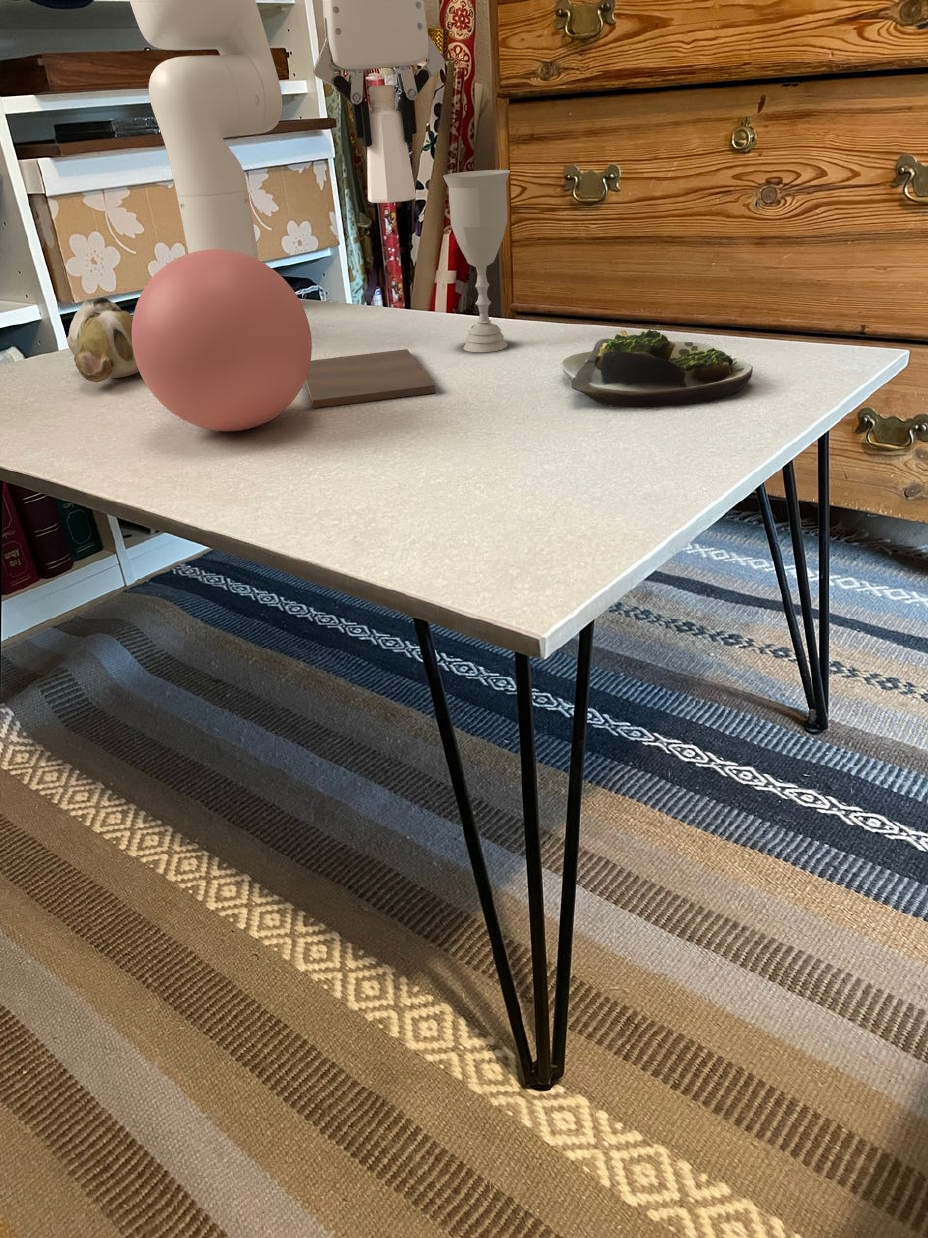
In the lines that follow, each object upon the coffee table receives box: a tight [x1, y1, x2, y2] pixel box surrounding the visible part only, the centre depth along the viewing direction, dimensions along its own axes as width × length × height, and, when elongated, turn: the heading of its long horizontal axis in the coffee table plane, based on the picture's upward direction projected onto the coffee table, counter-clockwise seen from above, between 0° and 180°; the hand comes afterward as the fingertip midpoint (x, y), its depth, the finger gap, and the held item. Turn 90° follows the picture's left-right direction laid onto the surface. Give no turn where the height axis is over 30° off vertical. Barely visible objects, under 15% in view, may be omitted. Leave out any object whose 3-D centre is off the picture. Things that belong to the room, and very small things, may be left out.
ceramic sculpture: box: [66, 297, 140, 383], centre depth 106 cm, size 11×9×15 cm
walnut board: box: [305, 348, 436, 409], centre depth 99 cm, size 16×12×1 cm
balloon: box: [132, 249, 313, 432], centre depth 86 cm, size 15×20×15 cm
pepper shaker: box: [366, 84, 417, 204], centre depth 102 cm, size 5×5×11 cm
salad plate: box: [560, 328, 753, 409], centre depth 92 cm, size 19×18×5 cm
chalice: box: [442, 169, 511, 353], centre depth 104 cm, size 7×7×18 cm
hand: (386, 142), depth 101 cm, fingers closed on pepper shaker, 3 cm apart
